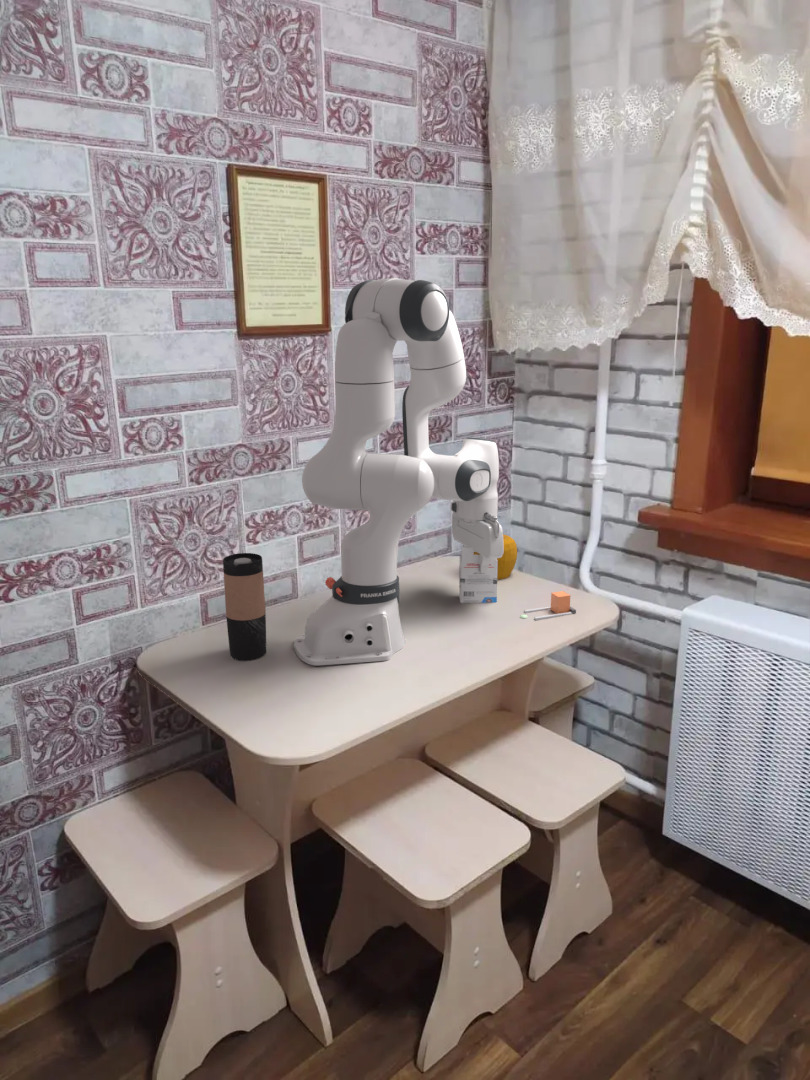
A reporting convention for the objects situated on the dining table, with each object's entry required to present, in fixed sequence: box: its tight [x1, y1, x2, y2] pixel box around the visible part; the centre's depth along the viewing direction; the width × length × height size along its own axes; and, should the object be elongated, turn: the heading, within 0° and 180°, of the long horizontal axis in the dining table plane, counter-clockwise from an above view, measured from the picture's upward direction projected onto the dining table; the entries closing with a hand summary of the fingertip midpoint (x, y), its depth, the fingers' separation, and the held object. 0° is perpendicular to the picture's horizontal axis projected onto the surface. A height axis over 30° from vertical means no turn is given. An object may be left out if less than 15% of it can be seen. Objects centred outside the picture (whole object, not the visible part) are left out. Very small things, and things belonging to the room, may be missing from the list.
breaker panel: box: [519, 605, 577, 621], centre depth 178 cm, size 12×15×3 cm
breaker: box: [550, 590, 571, 614], centre depth 175 cm, size 3×3×4 cm
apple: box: [473, 533, 518, 581], centre depth 199 cm, size 11×11×13 cm
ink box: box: [458, 546, 498, 604], centre depth 182 cm, size 8×5×15 cm, turn 90°
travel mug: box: [222, 552, 267, 662], centre depth 155 cm, size 8×8×20 cm
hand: (476, 568), depth 182 cm, fingers open, 6 cm apart
